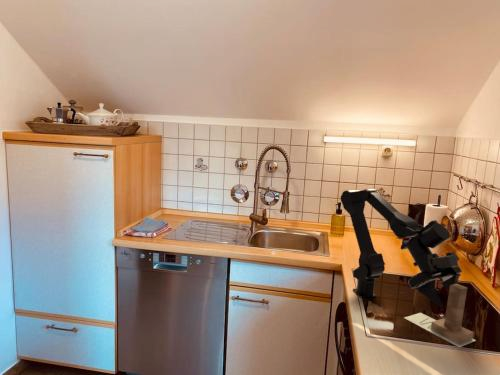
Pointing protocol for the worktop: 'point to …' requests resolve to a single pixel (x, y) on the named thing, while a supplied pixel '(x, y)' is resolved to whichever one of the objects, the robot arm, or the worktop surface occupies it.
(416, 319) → the board
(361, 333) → the worktop surface
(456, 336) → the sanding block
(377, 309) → the shard
